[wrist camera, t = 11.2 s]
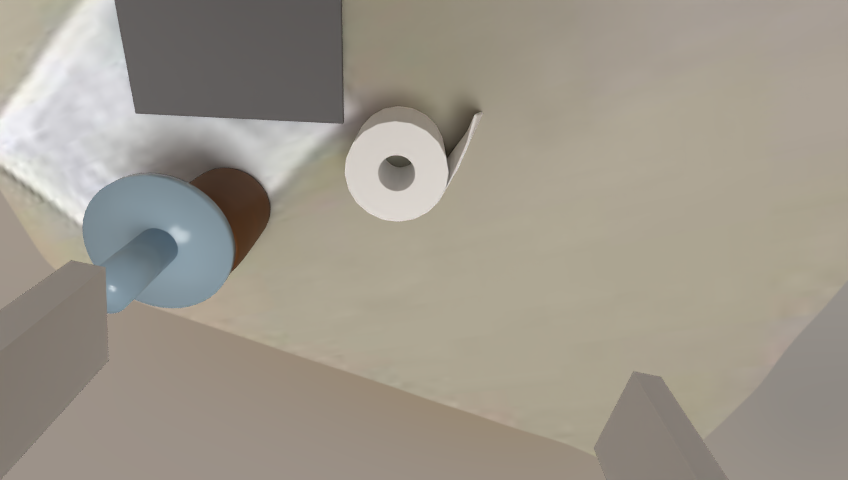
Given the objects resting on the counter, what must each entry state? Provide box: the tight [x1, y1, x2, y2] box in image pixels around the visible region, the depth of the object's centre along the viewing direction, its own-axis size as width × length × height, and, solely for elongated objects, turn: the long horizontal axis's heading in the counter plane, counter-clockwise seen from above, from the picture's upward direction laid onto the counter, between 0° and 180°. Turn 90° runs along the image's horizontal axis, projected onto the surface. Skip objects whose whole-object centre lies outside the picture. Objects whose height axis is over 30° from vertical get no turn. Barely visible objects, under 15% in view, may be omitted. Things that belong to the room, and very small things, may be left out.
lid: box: [83, 173, 236, 313], centre depth 35 cm, size 11×11×8 cm
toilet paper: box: [345, 106, 483, 222], centre depth 42 cm, size 8×11×7 cm
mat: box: [115, 0, 344, 124], centre depth 40 cm, size 18×18×1 cm
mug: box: [190, 168, 270, 272], centre depth 43 cm, size 12×8×9 cm, turn 80°
